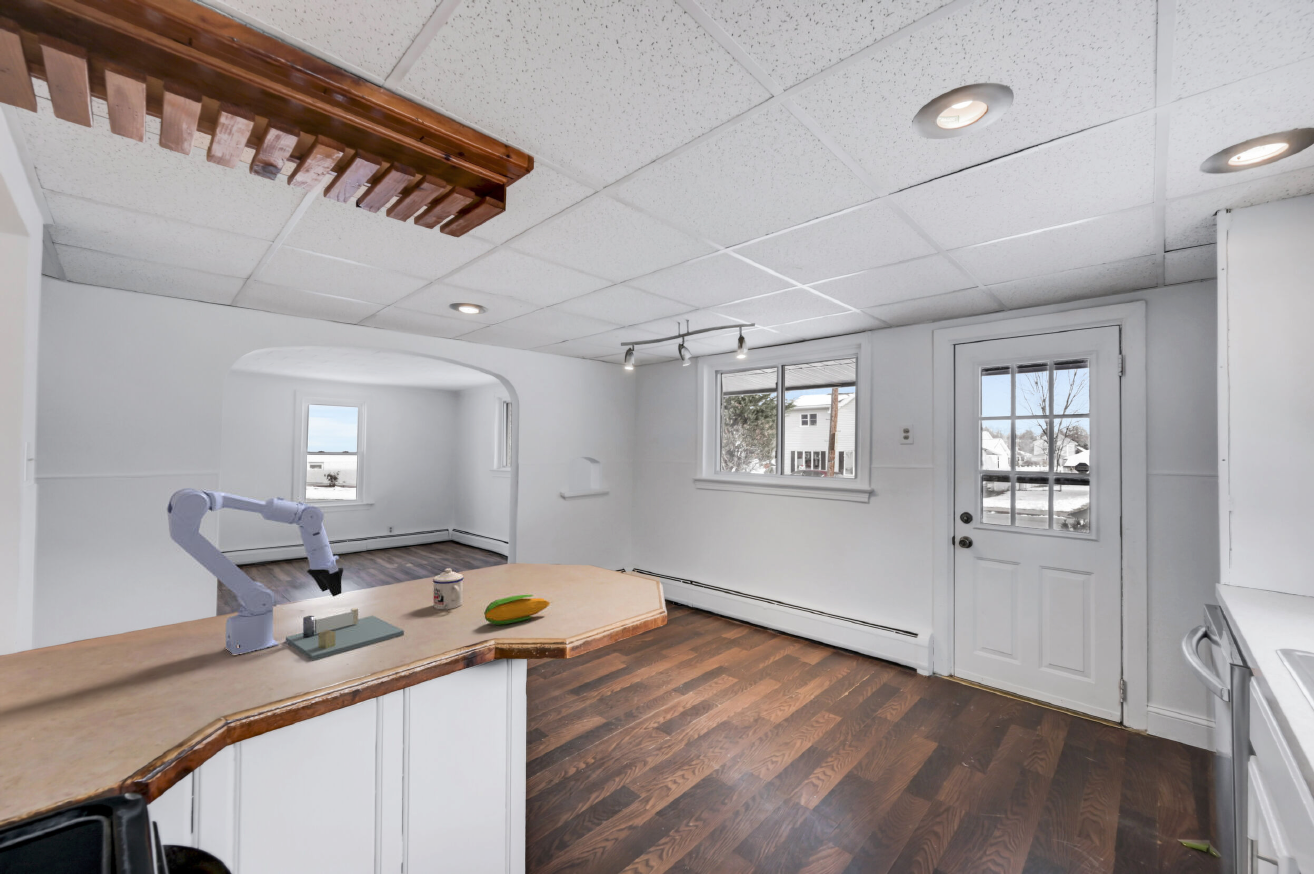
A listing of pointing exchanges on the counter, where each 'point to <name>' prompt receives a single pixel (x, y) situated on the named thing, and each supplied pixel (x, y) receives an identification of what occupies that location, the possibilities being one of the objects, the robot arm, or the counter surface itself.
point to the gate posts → (324, 638)
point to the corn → (514, 609)
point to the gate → (336, 620)
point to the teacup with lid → (448, 590)
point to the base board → (347, 638)
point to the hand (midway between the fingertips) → (331, 592)
